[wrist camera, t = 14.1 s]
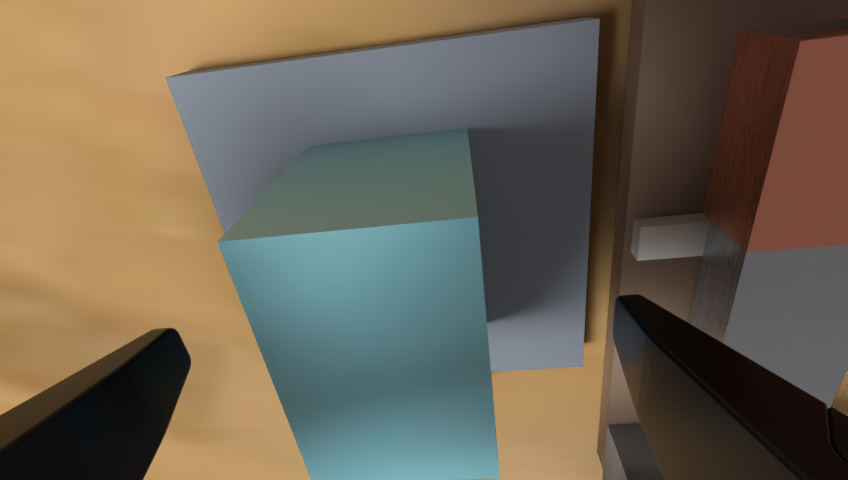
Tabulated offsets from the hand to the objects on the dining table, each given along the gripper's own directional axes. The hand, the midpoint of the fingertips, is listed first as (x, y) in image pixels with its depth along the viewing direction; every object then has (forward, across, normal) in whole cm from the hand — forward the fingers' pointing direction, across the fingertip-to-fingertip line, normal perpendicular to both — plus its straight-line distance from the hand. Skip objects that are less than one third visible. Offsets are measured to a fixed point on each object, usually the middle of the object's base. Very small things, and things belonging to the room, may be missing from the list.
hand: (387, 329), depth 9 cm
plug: (+4, 0, +2) cm, 4 cm away
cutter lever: (+3, -9, +3) cm, 10 cm away
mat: (+5, 0, 0) cm, 5 cm away
